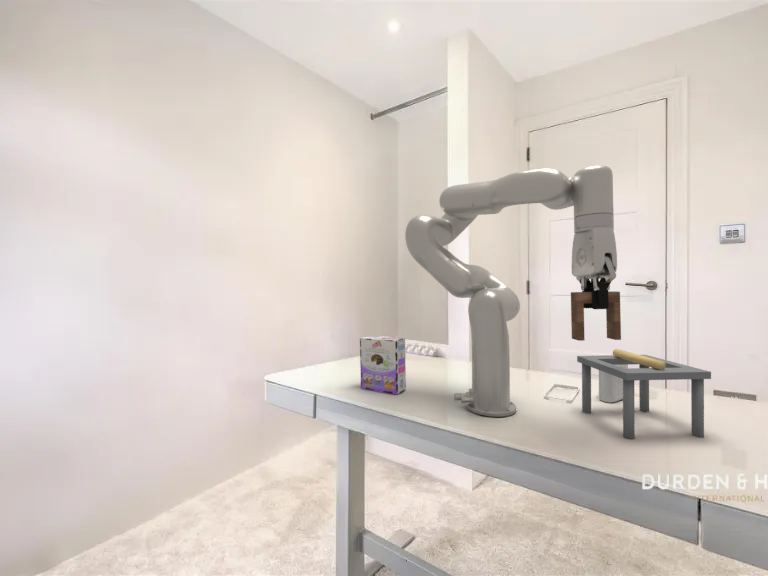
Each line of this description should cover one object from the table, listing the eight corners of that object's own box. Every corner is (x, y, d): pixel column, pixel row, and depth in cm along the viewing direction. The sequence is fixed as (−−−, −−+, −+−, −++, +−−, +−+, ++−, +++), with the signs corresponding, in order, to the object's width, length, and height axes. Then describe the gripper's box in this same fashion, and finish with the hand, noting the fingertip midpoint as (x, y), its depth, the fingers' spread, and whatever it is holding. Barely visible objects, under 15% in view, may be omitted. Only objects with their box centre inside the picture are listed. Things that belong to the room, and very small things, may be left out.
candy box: (406, 390, 110) (406, 337, 110) (397, 395, 105) (396, 340, 105) (370, 384, 118) (369, 334, 118) (359, 388, 113) (359, 337, 113)
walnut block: (621, 339, 76) (619, 291, 76) (578, 340, 76) (577, 292, 76) (612, 337, 79) (611, 291, 79) (571, 338, 79) (570, 292, 79)
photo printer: (613, 393, 105) (613, 352, 105) (630, 397, 101) (630, 354, 101) (596, 400, 99) (596, 356, 99) (613, 404, 95) (612, 358, 95)
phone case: (554, 387, 113) (542, 400, 101) (554, 383, 113) (542, 395, 101) (580, 391, 109) (571, 405, 97) (580, 387, 109) (571, 400, 97)
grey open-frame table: (711, 438, 74) (711, 362, 74) (626, 440, 74) (626, 363, 74) (645, 408, 92) (645, 347, 92) (577, 409, 92) (577, 348, 92)
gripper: (558, 231, 86) (560, 307, 86) (598, 218, 70) (600, 311, 70) (589, 230, 86) (591, 306, 86) (636, 217, 70) (638, 310, 70)
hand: (595, 307), depth 78 cm, fingers closed on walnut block, 3 cm apart
